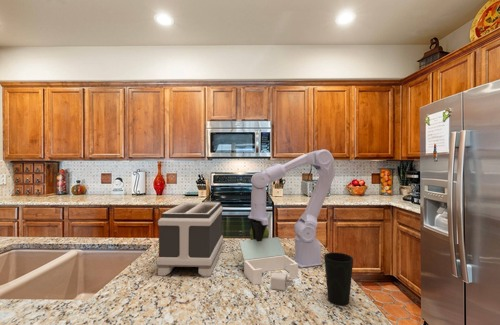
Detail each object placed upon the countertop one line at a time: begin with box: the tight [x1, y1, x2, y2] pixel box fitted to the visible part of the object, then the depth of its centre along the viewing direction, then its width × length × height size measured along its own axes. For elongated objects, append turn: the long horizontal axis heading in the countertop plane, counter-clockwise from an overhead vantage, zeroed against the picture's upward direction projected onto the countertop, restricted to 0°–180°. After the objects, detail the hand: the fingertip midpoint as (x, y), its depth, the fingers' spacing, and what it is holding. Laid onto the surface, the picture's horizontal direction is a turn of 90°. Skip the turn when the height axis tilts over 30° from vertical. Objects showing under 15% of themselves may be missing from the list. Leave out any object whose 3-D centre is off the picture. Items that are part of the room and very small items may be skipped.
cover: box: [238, 236, 286, 261], centre depth 95 cm, size 16×8×1 cm
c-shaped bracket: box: [243, 254, 299, 286], centre depth 88 cm, size 16×9×5 cm, turn 110°
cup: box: [323, 252, 354, 307], centre depth 72 cm, size 8×8×12 cm
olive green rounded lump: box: [249, 227, 270, 240], centre depth 114 cm, size 9×8×12 cm
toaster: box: [156, 201, 224, 278], centre depth 104 cm, size 18×34×21 cm, turn 178°
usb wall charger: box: [270, 271, 296, 292], centre depth 79 cm, size 4×7×4 cm, turn 72°
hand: (257, 240), depth 98 cm, fingers closed
